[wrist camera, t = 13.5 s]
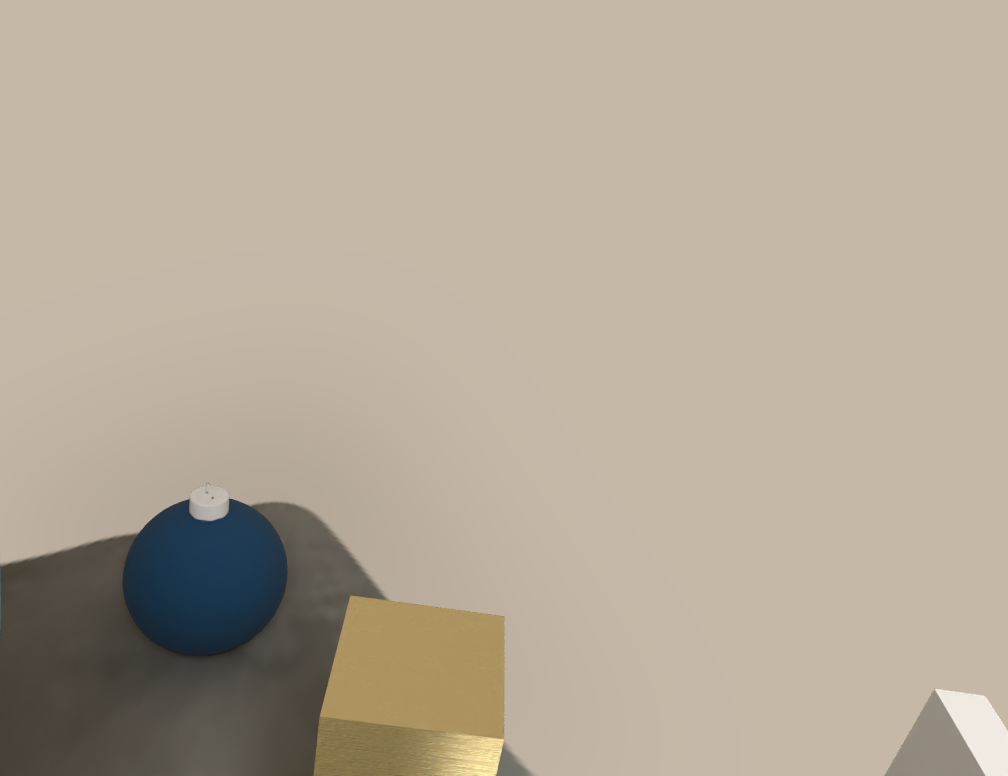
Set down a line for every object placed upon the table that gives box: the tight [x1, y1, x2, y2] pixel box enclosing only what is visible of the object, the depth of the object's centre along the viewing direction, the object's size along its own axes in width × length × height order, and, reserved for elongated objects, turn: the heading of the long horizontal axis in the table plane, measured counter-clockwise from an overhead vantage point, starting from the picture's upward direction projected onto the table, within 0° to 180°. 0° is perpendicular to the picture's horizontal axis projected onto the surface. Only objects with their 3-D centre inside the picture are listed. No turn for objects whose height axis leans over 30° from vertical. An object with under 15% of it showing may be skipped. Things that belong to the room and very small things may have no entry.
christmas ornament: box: [123, 483, 287, 656], centre depth 46 cm, size 8×8×10 cm
